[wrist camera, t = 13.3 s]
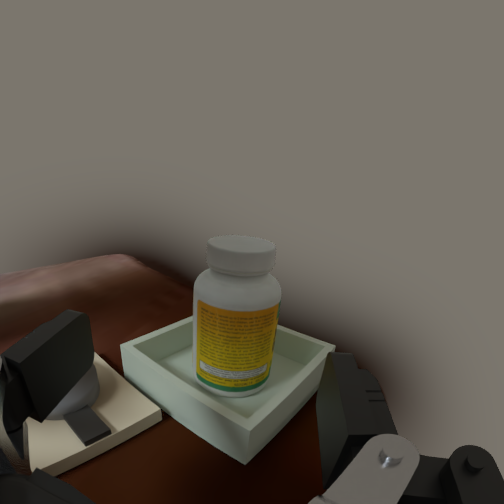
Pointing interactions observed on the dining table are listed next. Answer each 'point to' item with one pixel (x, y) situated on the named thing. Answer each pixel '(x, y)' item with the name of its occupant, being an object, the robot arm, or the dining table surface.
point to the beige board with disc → (89, 420)
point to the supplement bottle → (235, 316)
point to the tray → (218, 407)
